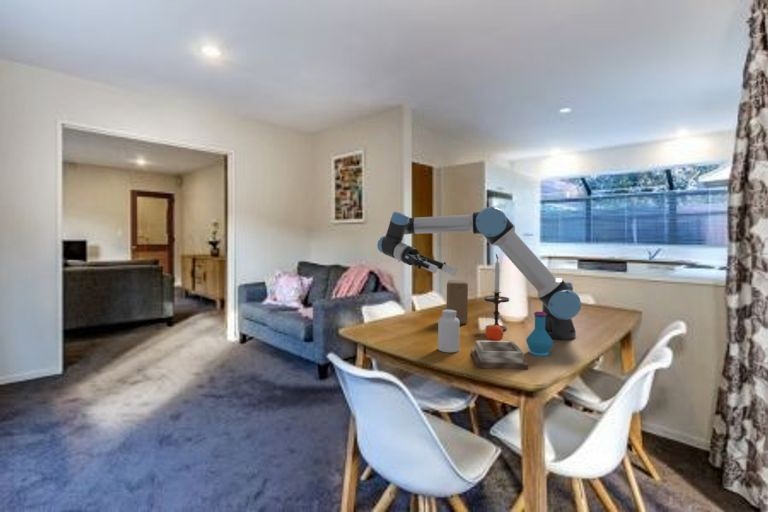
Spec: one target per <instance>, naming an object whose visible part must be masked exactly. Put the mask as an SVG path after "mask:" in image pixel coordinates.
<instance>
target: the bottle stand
mask: <svg viewBox="0 0 768 512" xmlns="http://www.w3.org/2000/svg"><path fill="white" fill-rule="evenodd" d="M474 343H475V347H474V348H471V350H470V353H471V355H472V358H473V360H474V362H475V364H476V366H477V368H478V369H504V370H505V369H507V370H529V364H528V363H527V361H526V360H525V359H524V352H523V351H522V349H520V347H519V346H518V345H517V344H516V342H515V341H513V340H511V341H510V340H500V341H490V340H475V342H474Z"/></svg>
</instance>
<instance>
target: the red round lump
mask: <svg viewBox="0 0 768 512" xmlns="http://www.w3.org/2000/svg"><path fill="white" fill-rule="evenodd" d="M488 325H490V326H489V327H488V328H487V329H486V328H485V329H486V330H485V336H486V338H487V339H488V341H502V339H503V337H504V332H503V330H502V328H501V327H500V326H501V325H500V326H498V325H495V324H494V323H493V324H488ZM488 325H486V326H488Z"/></svg>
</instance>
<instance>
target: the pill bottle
mask: <svg viewBox="0 0 768 512" xmlns="http://www.w3.org/2000/svg"><path fill="white" fill-rule="evenodd" d="M437 323H438V325H437V327H438V328H437V330H438V332H437V349H438V350H439V351H440V352H443V353H448V354H450V353H457V352H459V351H460V327H461V326H460V325H461V324H460V321H459V319H458V318H456V311H455V310H449V309H447V308H446V309H443V310H442V311H441V317H439V319H438V322H437Z"/></svg>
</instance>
